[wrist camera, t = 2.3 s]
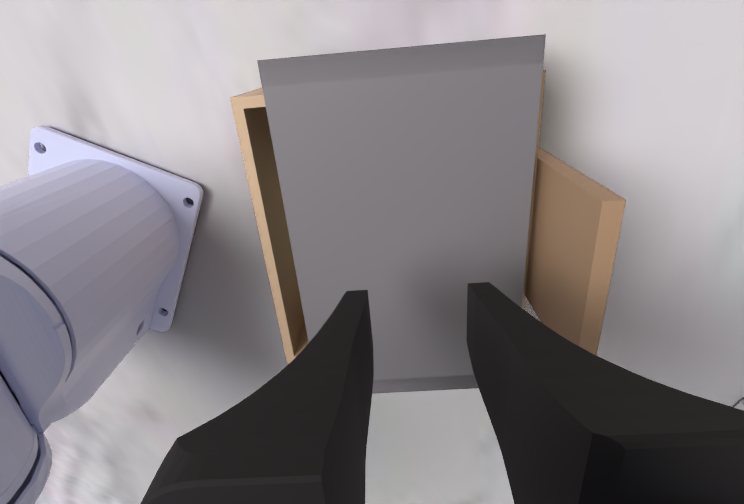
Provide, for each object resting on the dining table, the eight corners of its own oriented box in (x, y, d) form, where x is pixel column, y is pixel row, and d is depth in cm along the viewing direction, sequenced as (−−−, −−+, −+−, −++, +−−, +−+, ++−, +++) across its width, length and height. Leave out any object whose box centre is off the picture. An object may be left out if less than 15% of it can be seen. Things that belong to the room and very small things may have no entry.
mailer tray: (301, 312, 24) (260, 454, 15) (260, 87, 19) (164, 118, 10) (507, 300, 23) (580, 440, 15) (524, 65, 18) (649, 76, 10)
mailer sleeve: (330, 324, 24) (318, 396, 19) (290, 58, 18) (257, 60, 13) (486, 315, 24) (514, 386, 19) (498, 38, 18) (545, 34, 13)
